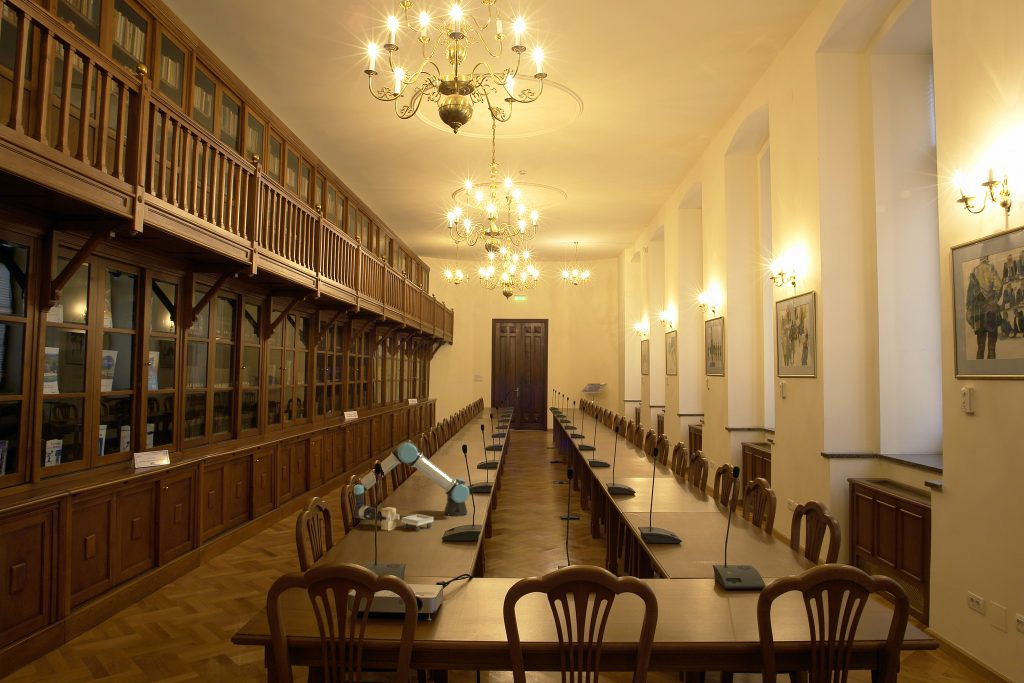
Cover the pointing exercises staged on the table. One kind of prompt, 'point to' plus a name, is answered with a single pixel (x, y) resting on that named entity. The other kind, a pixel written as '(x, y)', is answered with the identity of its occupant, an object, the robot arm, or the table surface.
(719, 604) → the table surface
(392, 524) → the maple block
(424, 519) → the cart
